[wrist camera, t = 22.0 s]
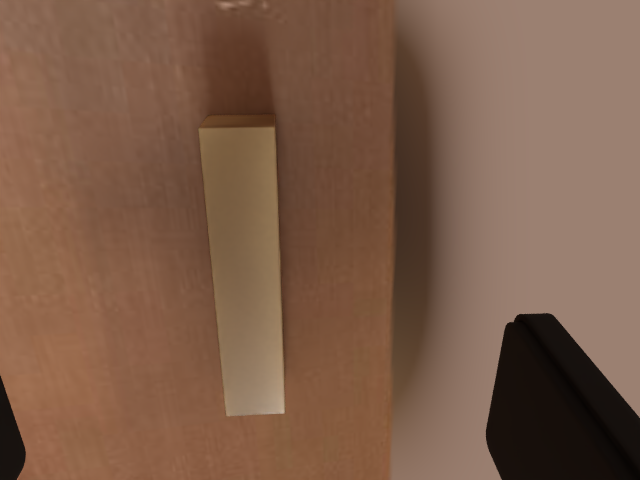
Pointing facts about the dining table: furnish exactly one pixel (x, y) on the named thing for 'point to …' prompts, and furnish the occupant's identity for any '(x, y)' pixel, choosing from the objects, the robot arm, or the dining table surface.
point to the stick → (245, 258)
